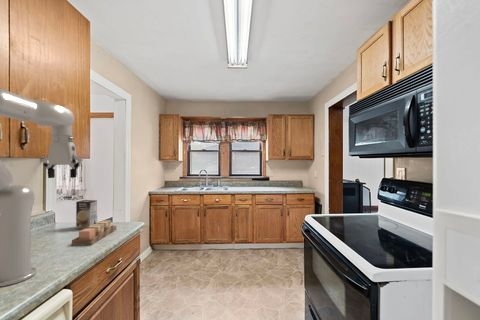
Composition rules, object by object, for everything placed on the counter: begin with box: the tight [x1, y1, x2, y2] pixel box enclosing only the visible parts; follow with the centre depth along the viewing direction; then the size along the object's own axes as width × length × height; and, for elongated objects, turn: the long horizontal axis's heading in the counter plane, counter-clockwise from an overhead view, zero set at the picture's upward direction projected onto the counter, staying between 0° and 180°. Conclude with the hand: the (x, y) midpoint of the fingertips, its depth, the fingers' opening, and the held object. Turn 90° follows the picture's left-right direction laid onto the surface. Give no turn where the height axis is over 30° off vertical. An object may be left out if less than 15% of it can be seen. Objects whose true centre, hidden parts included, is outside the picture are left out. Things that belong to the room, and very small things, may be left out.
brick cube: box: [78, 228, 95, 239], centre depth 118 cm, size 5×5×5 cm
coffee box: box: [75, 199, 98, 230], centre depth 144 cm, size 9×6×16 cm
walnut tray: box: [71, 219, 117, 246], centre depth 126 cm, size 25×9×6 cm, turn 2°
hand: (62, 177), depth 109 cm, fingers open, 9 cm apart
